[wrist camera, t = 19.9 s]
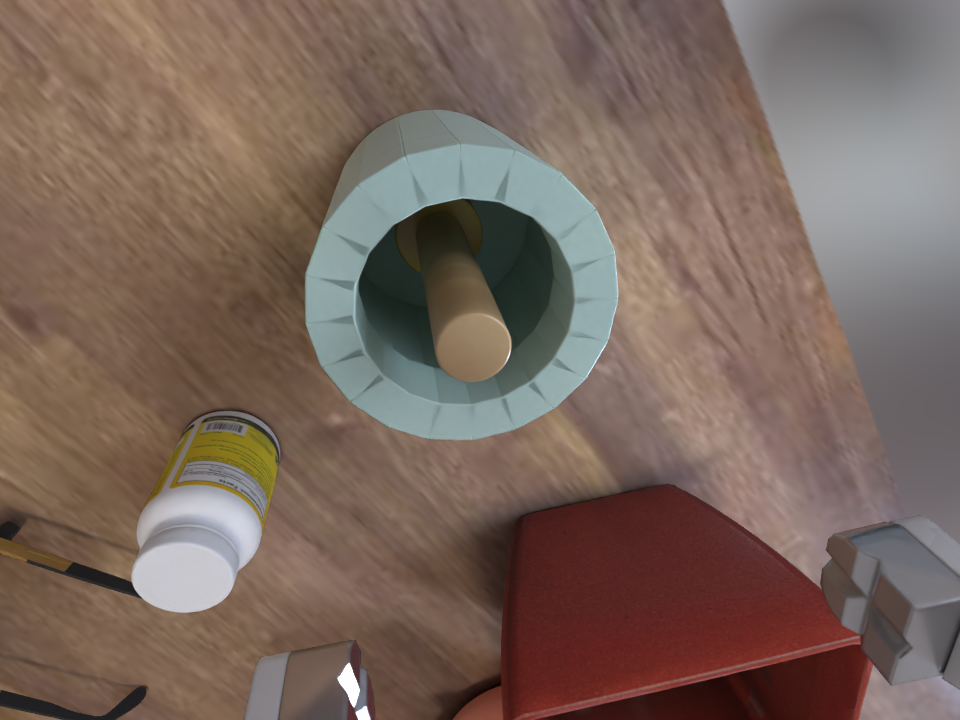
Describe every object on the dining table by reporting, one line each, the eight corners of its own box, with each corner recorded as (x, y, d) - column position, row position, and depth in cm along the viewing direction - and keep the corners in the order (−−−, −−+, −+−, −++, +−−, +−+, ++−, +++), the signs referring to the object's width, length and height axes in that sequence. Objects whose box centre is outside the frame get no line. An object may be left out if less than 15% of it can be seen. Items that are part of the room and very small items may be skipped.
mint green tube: (426, 59, 30) (456, 62, 17) (572, 207, 34) (677, 293, 22) (293, 225, 33) (237, 329, 20) (444, 342, 37) (474, 485, 25)
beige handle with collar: (425, 162, 31) (459, 253, 17) (490, 211, 33) (571, 331, 18) (378, 230, 32) (374, 367, 18) (444, 274, 34) (486, 431, 20)
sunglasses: (147, 689, 47) (122, 753, 43) (-72, 633, 42) (-125, 701, 37) (224, 575, 43) (206, 633, 39) (-7, 496, 38) (-59, 555, 33)
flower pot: (500, 658, 52) (546, 900, 37) (461, 493, 43) (501, 725, 28) (709, 608, 53) (835, 825, 38) (714, 436, 44) (882, 632, 29)
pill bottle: (220, 498, 40) (167, 641, 30) (160, 432, 37) (81, 566, 27) (301, 461, 40) (274, 594, 30) (247, 391, 37) (198, 512, 27)
